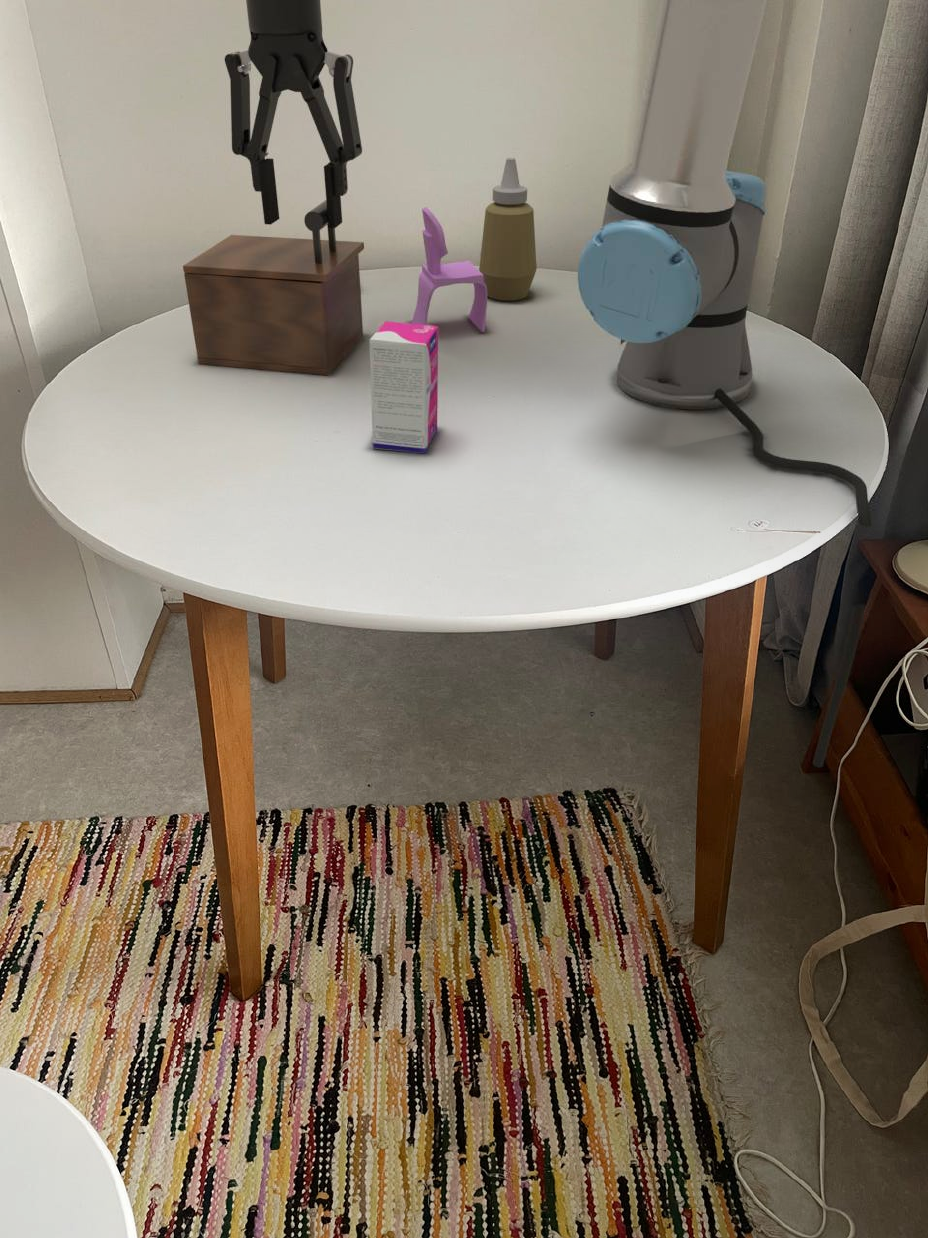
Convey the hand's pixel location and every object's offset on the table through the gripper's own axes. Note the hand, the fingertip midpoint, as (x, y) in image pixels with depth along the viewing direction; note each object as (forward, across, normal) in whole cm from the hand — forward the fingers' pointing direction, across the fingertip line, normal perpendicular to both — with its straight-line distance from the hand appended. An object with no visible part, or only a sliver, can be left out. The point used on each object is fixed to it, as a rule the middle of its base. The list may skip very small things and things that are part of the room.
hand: (303, 222), depth 115 cm
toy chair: (+16, -14, -12) cm, 24 cm away
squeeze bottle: (+16, -19, -27) cm, 37 cm away
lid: (+4, +4, 0) cm, 6 cm away
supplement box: (+16, -18, +21) cm, 32 cm away
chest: (+15, +4, 0) cm, 16 cm away
